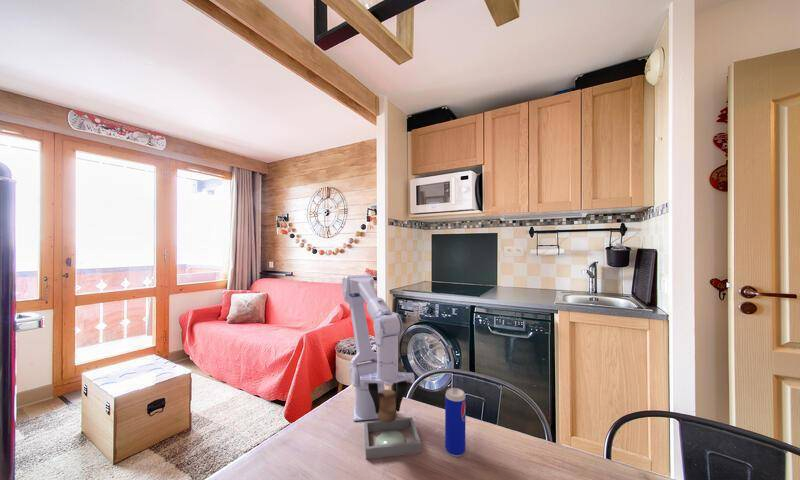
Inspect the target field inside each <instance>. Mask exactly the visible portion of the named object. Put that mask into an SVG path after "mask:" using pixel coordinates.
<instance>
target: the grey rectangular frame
mask: <svg viewBox="0 0 800 480" xmlns="http://www.w3.org/2000/svg"><path fill="white" fill-rule="evenodd" d="M415 424H416V423H415V422H414V418H413V417H412V416H411V417H401V418H396V419H395V420H394V421H392V422H389V423H385V422H381V421H380V420H379V419H377V420H366V421H364V425H363V427H364V428H363V430H364V431H363V432H364V445H365V447H364V448H365V449H364V450H365V451H364V452H365V460H371V459H377V458H378V459H380V458H387V457H388V458H389V457H395V456H397V457H398V456H405V455H414V454H415V455H416V454H421V453H422V443H421V439H420V436H419V432H418V430H417V427H416V425H415ZM402 429H410V432H411V435H412V439H413V441H407V442H406V441H405V443H396V444H387V445H378V444H377V445H371V446H370V443H369V442H370V441H369V433H372V432H384V431H391V430H392V431H394V430H402Z"/></svg>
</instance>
